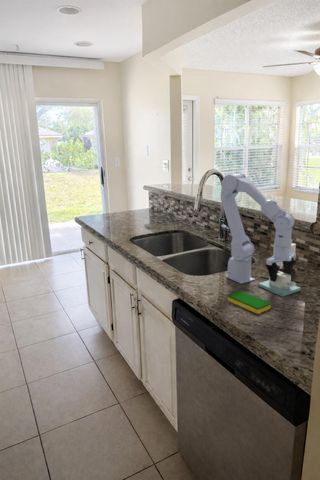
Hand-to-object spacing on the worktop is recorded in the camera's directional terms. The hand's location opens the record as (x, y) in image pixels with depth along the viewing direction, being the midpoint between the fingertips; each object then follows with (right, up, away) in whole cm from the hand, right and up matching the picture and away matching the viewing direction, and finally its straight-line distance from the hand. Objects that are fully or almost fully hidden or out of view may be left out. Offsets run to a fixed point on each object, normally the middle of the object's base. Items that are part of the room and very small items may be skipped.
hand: (279, 279), depth 136 cm
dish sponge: (-15, -8, -12) cm, 21 cm away
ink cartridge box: (+10, +2, +24) cm, 26 cm away
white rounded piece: (0, -3, +1) cm, 3 cm away
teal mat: (0, -4, +1) cm, 4 cm away
